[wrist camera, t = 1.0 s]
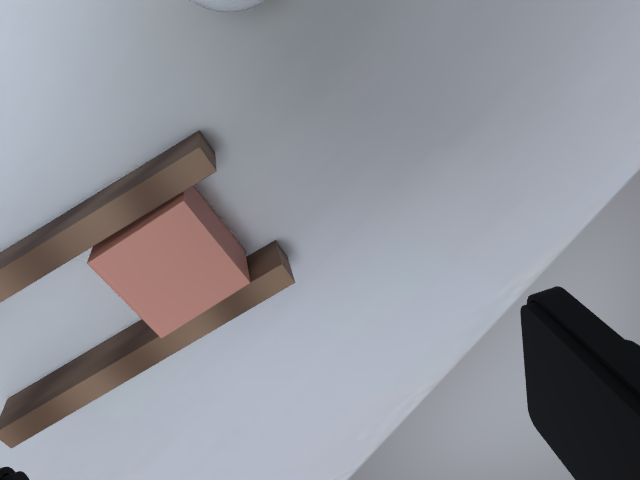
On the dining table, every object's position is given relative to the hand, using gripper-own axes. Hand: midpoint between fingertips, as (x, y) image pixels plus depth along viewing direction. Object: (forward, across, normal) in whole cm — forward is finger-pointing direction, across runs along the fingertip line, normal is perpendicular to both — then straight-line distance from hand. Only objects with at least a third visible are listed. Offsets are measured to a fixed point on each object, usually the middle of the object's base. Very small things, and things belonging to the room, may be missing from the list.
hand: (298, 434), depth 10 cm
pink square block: (+24, +5, +6) cm, 25 cm away
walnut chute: (+24, +10, +7) cm, 27 cm away
